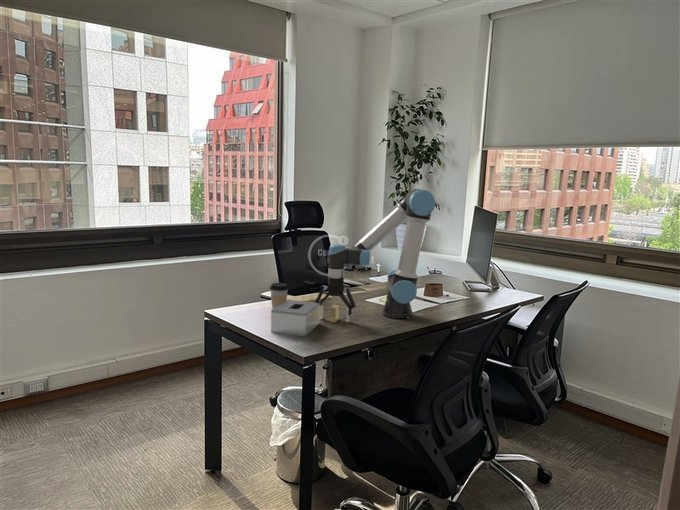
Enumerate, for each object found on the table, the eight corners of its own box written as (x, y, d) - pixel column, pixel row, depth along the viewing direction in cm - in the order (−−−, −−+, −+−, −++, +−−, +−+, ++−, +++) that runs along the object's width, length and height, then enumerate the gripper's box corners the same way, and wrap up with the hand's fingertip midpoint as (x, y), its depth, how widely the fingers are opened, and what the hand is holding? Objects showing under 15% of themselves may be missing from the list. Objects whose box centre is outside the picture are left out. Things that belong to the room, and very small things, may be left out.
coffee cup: (279, 310, 253) (279, 281, 251) (292, 314, 247) (292, 284, 245) (265, 313, 246) (265, 284, 244) (278, 317, 240) (279, 287, 238)
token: (338, 319, 242) (339, 305, 240) (335, 322, 236) (335, 308, 235) (333, 318, 242) (334, 304, 241) (330, 321, 236) (330, 307, 235)
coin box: (319, 323, 233) (320, 303, 231) (305, 336, 214) (305, 313, 212) (287, 319, 237) (288, 299, 235) (271, 331, 218) (271, 309, 216)
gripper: (363, 277, 236) (361, 320, 239) (314, 273, 242) (312, 315, 246) (359, 280, 229) (357, 325, 232) (308, 275, 235) (307, 319, 239)
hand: (334, 320), depth 239 cm, fingers open, 13 cm apart
